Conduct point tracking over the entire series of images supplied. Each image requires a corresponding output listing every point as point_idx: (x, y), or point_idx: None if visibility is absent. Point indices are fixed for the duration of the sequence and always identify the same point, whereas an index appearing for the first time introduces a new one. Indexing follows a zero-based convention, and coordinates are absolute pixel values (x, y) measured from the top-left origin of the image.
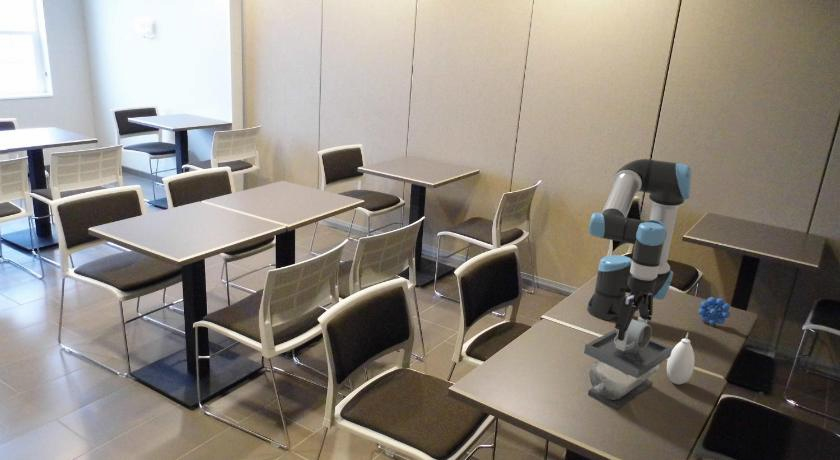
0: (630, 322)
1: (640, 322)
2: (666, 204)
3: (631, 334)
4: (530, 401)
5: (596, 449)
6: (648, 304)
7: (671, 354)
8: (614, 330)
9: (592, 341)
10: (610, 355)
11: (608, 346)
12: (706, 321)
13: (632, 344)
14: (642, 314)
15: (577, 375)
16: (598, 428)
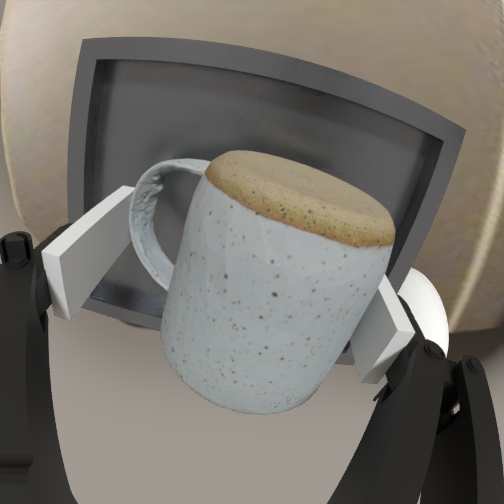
0: (49, 374)
1: (278, 377)
2: None
3: (167, 296)
4: (46, 26)
5: (17, 207)
6: (435, 486)
7: (411, 309)
8: (401, 102)
9: (145, 38)
10: (76, 182)
11: (203, 116)
12: None
13: (160, 282)
14: (395, 390)
15: (247, 28)
16: (58, 183)
